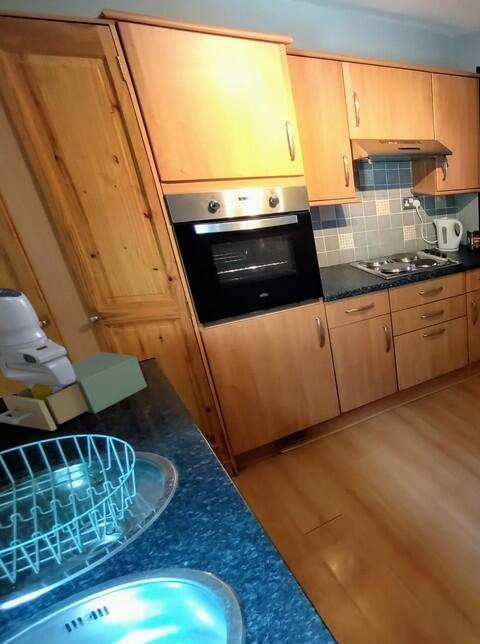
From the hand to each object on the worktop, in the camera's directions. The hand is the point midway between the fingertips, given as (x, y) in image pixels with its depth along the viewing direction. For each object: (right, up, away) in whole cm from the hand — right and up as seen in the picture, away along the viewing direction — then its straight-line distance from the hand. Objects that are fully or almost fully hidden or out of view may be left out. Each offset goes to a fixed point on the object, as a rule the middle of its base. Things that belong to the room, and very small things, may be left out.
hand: (48, 395), depth 122 cm
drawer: (0, -6, +2) cm, 7 cm away
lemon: (0, -3, +1) cm, 3 cm away
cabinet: (+3, -2, +14) cm, 14 cm away
